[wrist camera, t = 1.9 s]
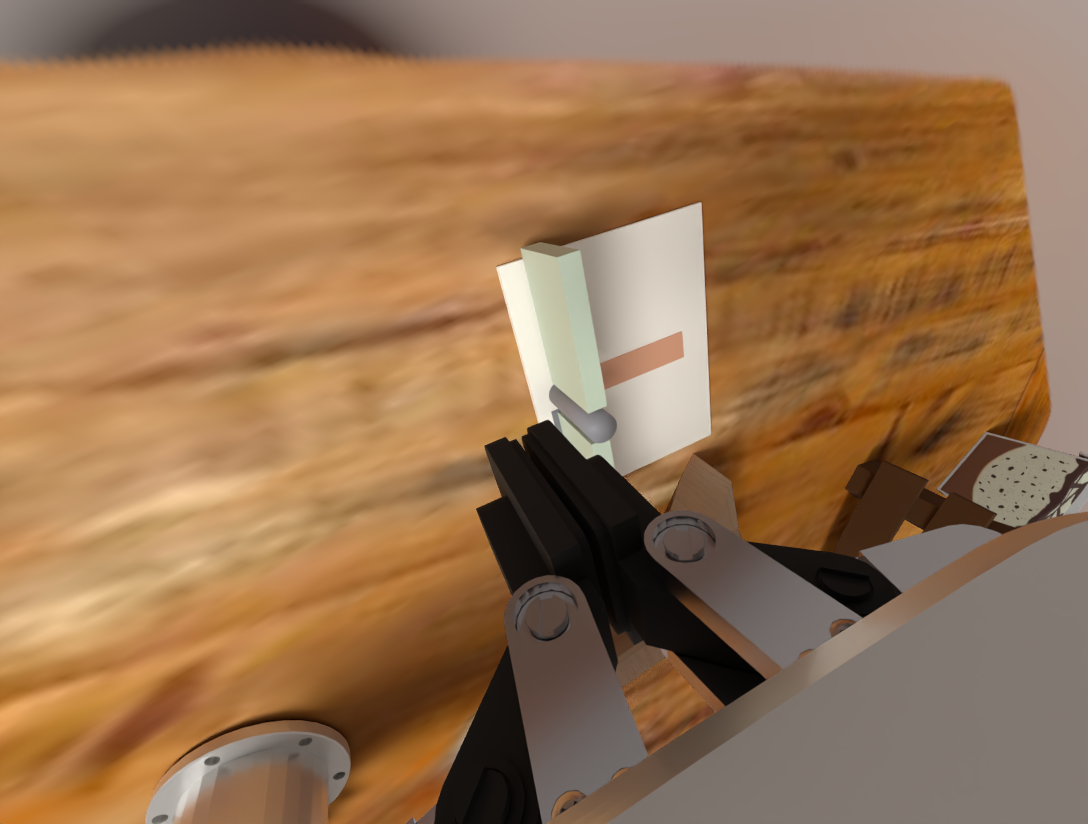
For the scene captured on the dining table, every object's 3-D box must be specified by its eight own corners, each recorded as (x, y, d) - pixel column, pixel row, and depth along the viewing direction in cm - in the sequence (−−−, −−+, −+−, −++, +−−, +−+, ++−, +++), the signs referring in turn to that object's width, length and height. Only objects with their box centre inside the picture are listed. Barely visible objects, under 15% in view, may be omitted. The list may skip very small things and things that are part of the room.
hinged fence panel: (569, 376, 29) (607, 405, 25) (552, 383, 29) (588, 413, 25) (539, 242, 25) (580, 249, 21) (520, 248, 25) (556, 257, 20)
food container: (940, 513, 62) (1034, 561, 53) (928, 498, 59) (1026, 547, 50) (1002, 441, 60) (1109, 480, 52) (994, 422, 57) (1106, 459, 49)
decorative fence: (856, 451, 48) (1041, 541, 35) (889, 449, 50) (1073, 532, 38) (755, 675, 60) (865, 801, 47) (785, 665, 62) (898, 782, 50)
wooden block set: (767, 605, 42) (608, 717, 39) (725, 565, 47) (579, 662, 44) (751, 479, 34) (544, 611, 31) (700, 445, 38) (517, 556, 35)
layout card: (708, 433, 38) (712, 435, 37) (559, 502, 34) (561, 505, 34) (698, 202, 29) (702, 202, 28) (495, 266, 25) (497, 267, 25)
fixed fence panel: (594, 493, 35) (636, 541, 30) (574, 502, 35) (613, 553, 30) (568, 374, 30) (614, 409, 25) (544, 384, 30) (586, 421, 25)
